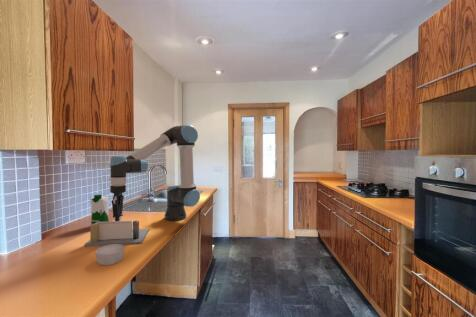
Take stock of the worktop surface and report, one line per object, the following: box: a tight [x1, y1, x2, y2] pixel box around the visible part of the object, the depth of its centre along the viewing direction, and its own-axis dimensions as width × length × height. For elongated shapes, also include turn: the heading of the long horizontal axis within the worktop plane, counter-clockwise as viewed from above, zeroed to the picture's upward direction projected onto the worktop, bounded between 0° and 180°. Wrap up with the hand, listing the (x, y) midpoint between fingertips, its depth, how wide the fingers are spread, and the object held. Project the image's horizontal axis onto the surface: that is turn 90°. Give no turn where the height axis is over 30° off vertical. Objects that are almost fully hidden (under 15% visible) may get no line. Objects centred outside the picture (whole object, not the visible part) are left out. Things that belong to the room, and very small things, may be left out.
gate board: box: [83, 228, 150, 247], centre depth 133 cm, size 27×21×1 cm
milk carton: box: [89, 194, 110, 225], centre depth 154 cm, size 9×9×20 cm
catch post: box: [89, 223, 99, 243], centre depth 124 cm, size 3×2×10 cm
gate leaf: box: [95, 220, 133, 240], centre depth 128 cm, size 18×2×9 cm, turn 100°
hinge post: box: [132, 220, 140, 239], centre depth 130 cm, size 3×3×10 cm
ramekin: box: [94, 244, 125, 266], centre depth 106 cm, size 11×11×5 cm
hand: (117, 228), depth 131 cm, fingers closed
